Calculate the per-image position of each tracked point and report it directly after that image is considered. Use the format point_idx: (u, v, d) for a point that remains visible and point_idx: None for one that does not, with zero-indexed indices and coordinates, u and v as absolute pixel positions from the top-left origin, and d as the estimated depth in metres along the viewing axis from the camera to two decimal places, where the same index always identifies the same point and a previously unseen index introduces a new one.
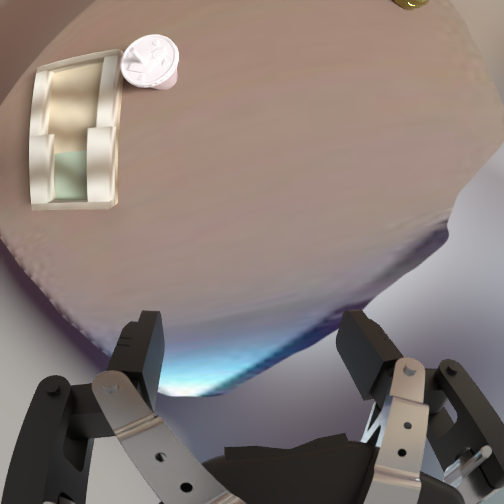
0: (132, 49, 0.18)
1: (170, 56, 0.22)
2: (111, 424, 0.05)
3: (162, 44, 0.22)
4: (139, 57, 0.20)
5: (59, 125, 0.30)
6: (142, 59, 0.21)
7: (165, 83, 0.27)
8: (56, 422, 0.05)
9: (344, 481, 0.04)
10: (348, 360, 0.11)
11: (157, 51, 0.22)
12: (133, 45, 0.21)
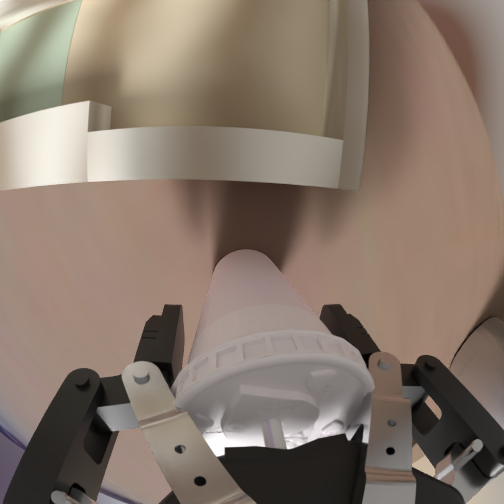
0: None
1: None
2: (136, 413, 0.06)
3: None
4: None
5: None
6: None
7: None
8: (80, 415, 0.05)
9: (335, 486, 0.04)
10: None
11: (297, 441, 0.07)
12: (354, 379, 0.07)
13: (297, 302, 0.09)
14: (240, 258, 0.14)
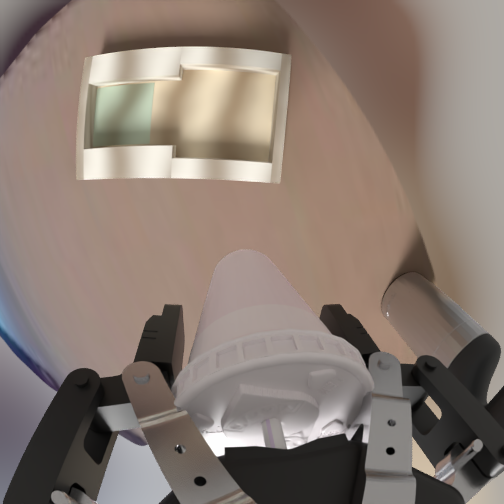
0: None
1: None
2: (136, 413, 0.06)
3: (320, 437, 0.08)
4: None
5: (191, 89, 0.25)
6: None
7: None
8: (80, 415, 0.05)
9: (335, 486, 0.04)
10: None
11: (297, 441, 0.07)
12: (353, 379, 0.07)
13: (297, 302, 0.09)
14: (240, 258, 0.14)
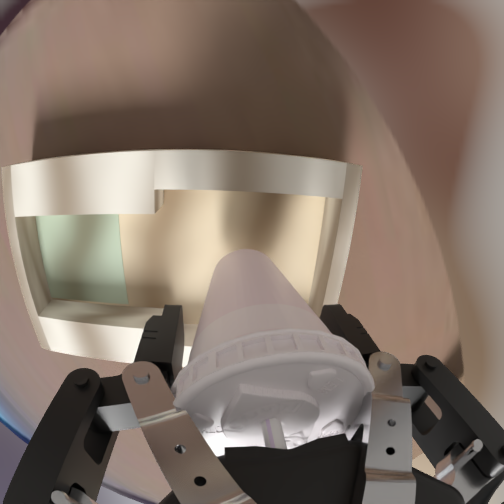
0: None
1: None
2: (136, 413, 0.06)
3: (320, 437, 0.08)
4: None
5: (181, 220, 0.17)
6: None
7: None
8: (80, 415, 0.05)
9: (335, 486, 0.04)
10: None
11: (297, 441, 0.07)
12: (354, 378, 0.07)
13: (297, 302, 0.09)
14: (240, 258, 0.14)
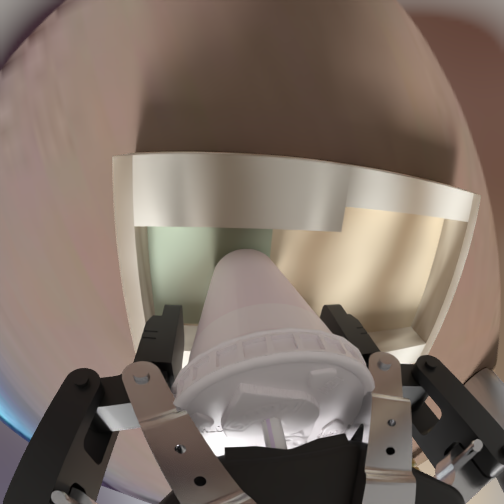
0: None
1: None
2: (136, 413, 0.06)
3: (320, 437, 0.08)
4: None
5: (339, 236, 0.16)
6: None
7: None
8: (80, 415, 0.05)
9: (335, 486, 0.04)
10: None
11: (298, 440, 0.07)
12: (354, 378, 0.07)
13: (297, 301, 0.09)
14: (240, 257, 0.14)
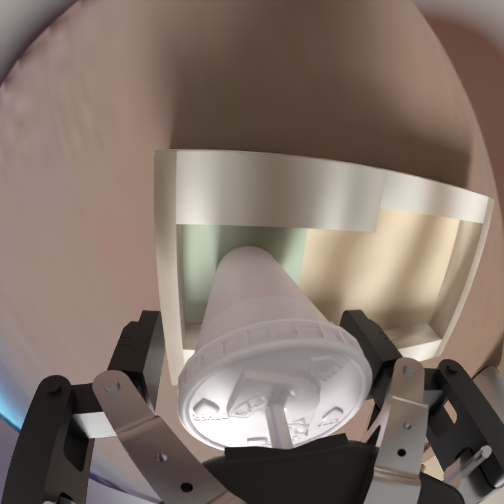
0: None
1: None
2: (111, 424, 0.05)
3: (321, 425, 0.08)
4: None
5: (367, 236, 0.16)
6: None
7: None
8: (57, 422, 0.05)
9: (344, 481, 0.04)
10: None
11: (299, 428, 0.08)
12: (352, 366, 0.07)
13: (298, 295, 0.10)
14: (243, 254, 0.14)
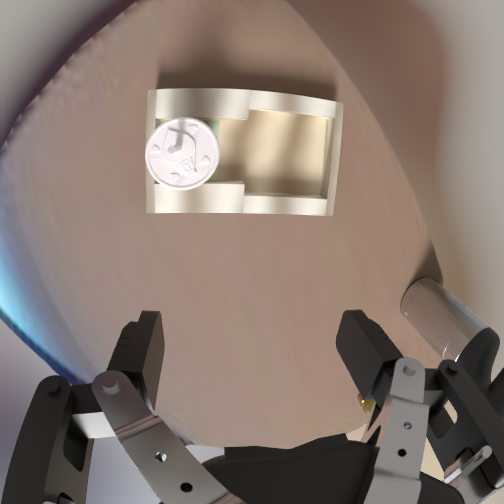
0: (171, 150, 0.17)
1: (183, 182, 0.22)
2: (111, 424, 0.05)
3: (202, 169, 0.22)
4: None
5: (254, 129, 0.30)
6: None
7: None
8: (56, 422, 0.05)
9: (344, 481, 0.04)
10: (348, 360, 0.11)
11: (191, 165, 0.22)
12: (205, 130, 0.21)
13: None
14: None
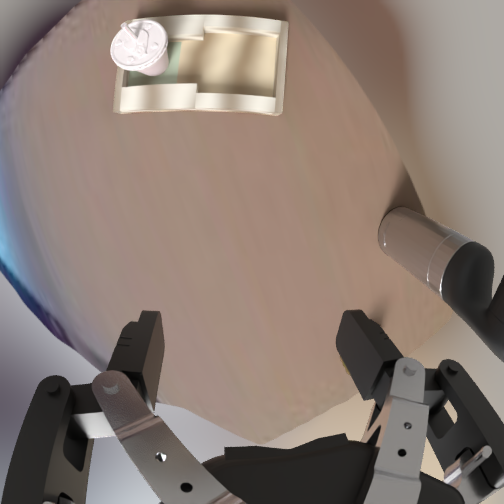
0: (124, 26, 0.17)
1: (136, 62, 0.22)
2: (111, 424, 0.05)
3: (151, 51, 0.21)
4: (128, 34, 0.19)
5: (211, 46, 0.30)
6: (131, 37, 0.20)
7: None
8: (56, 422, 0.05)
9: (344, 481, 0.04)
10: (348, 360, 0.11)
11: (143, 49, 0.21)
12: (156, 26, 0.20)
13: None
14: None
